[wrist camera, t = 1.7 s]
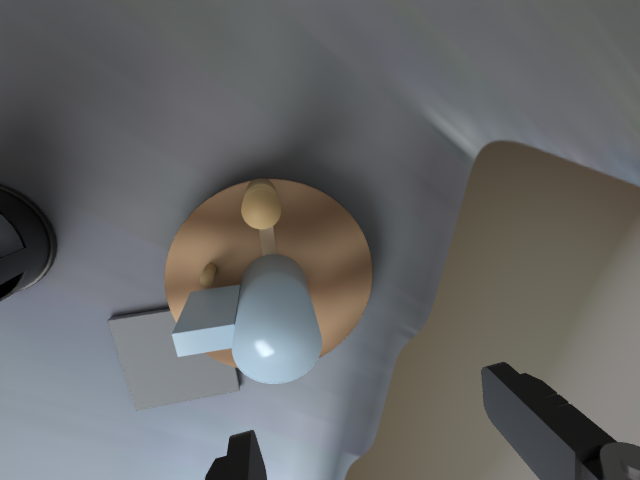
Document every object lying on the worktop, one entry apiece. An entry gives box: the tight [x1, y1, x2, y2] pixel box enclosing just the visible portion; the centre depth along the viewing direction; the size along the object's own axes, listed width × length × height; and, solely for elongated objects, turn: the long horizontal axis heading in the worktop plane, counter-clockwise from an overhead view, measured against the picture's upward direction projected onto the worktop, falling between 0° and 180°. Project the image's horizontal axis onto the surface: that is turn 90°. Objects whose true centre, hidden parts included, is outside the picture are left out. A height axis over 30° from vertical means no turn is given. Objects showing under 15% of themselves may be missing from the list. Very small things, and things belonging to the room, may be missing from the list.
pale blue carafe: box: [172, 254, 322, 384], centre depth 25 cm, size 10×6×9 cm, turn 95°
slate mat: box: [108, 308, 240, 411], centre depth 33 cm, size 10×10×1 cm
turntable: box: [165, 178, 373, 368], centre depth 27 cm, size 18×18×8 cm
